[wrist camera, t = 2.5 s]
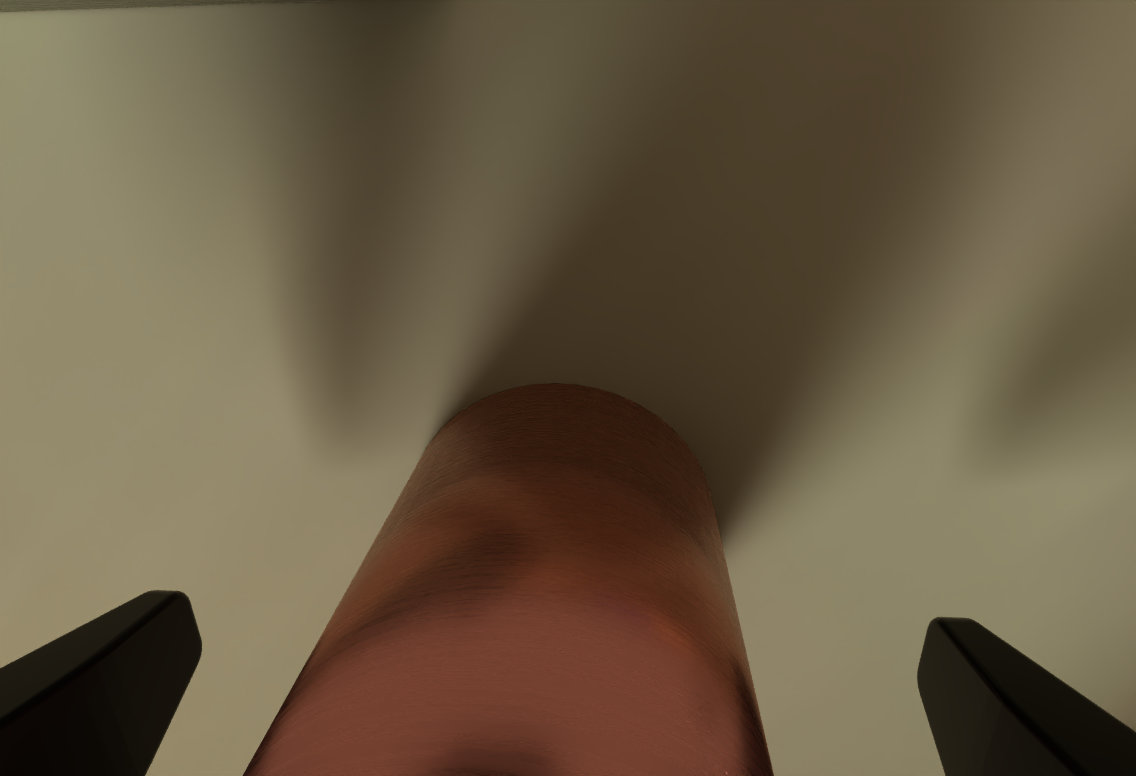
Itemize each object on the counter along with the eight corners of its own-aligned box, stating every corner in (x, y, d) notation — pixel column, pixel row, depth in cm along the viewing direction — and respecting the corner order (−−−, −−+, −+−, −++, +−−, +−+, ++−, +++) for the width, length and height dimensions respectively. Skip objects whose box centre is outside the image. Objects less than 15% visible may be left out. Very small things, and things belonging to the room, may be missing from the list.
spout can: (723, 384, 9) (1077, 1377, 2) (704, 645, 11) (856, 1662, 4) (392, 381, 10) (-291, 1226, 2) (425, 635, 11) (93, 1549, 4)
